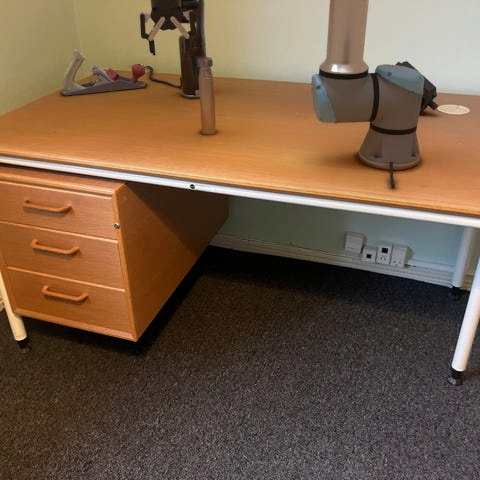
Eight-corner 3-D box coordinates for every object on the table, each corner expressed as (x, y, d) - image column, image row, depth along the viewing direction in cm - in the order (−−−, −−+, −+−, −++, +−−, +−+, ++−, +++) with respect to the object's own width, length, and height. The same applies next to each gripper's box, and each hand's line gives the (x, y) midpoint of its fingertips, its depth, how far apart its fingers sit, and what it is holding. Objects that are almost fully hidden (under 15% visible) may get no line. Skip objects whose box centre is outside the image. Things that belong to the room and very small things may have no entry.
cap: (207, 63, 150) (206, 56, 149) (215, 66, 148) (215, 58, 147) (194, 65, 148) (194, 58, 147) (203, 68, 146) (203, 61, 145)
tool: (376, 92, 179) (403, 55, 168) (419, 129, 175) (449, 94, 164) (367, 96, 175) (394, 59, 164) (411, 135, 171) (441, 99, 160)
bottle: (210, 128, 161) (206, 57, 150) (218, 132, 158) (215, 60, 147) (198, 131, 159) (194, 60, 148) (207, 135, 156) (203, 62, 145)
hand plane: (62, 90, 197) (53, 48, 189) (145, 82, 205) (140, 41, 197) (62, 96, 191) (54, 53, 184) (148, 87, 199) (143, 45, 191)
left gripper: (191, -17, 137) (195, 49, 145) (135, -14, 135) (142, 52, 143) (194, -13, 131) (198, 55, 139) (135, -11, 128) (143, 58, 137)
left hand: (170, 53), depth 141 cm, fingers open, 8 cm apart
